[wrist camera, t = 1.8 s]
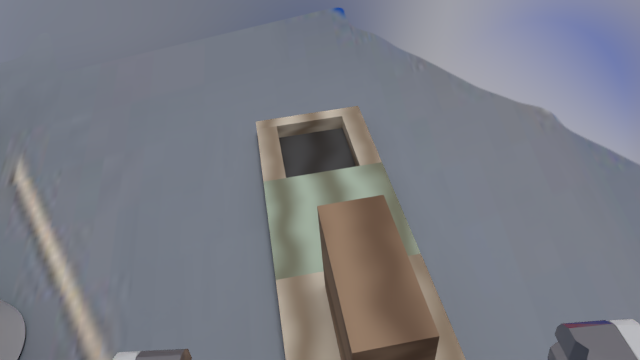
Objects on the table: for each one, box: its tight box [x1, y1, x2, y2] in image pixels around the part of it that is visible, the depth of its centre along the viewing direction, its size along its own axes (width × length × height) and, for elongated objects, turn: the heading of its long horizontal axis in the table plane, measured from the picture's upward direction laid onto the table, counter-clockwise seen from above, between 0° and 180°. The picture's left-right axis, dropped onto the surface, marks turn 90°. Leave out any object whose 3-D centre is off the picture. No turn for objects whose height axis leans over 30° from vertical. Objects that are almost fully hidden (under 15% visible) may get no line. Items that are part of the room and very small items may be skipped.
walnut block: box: [317, 195, 440, 360], centre depth 41 cm, size 6×14×12 cm, turn 10°
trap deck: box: [256, 106, 466, 360], centre depth 52 cm, size 16×62×2 cm, turn 10°
